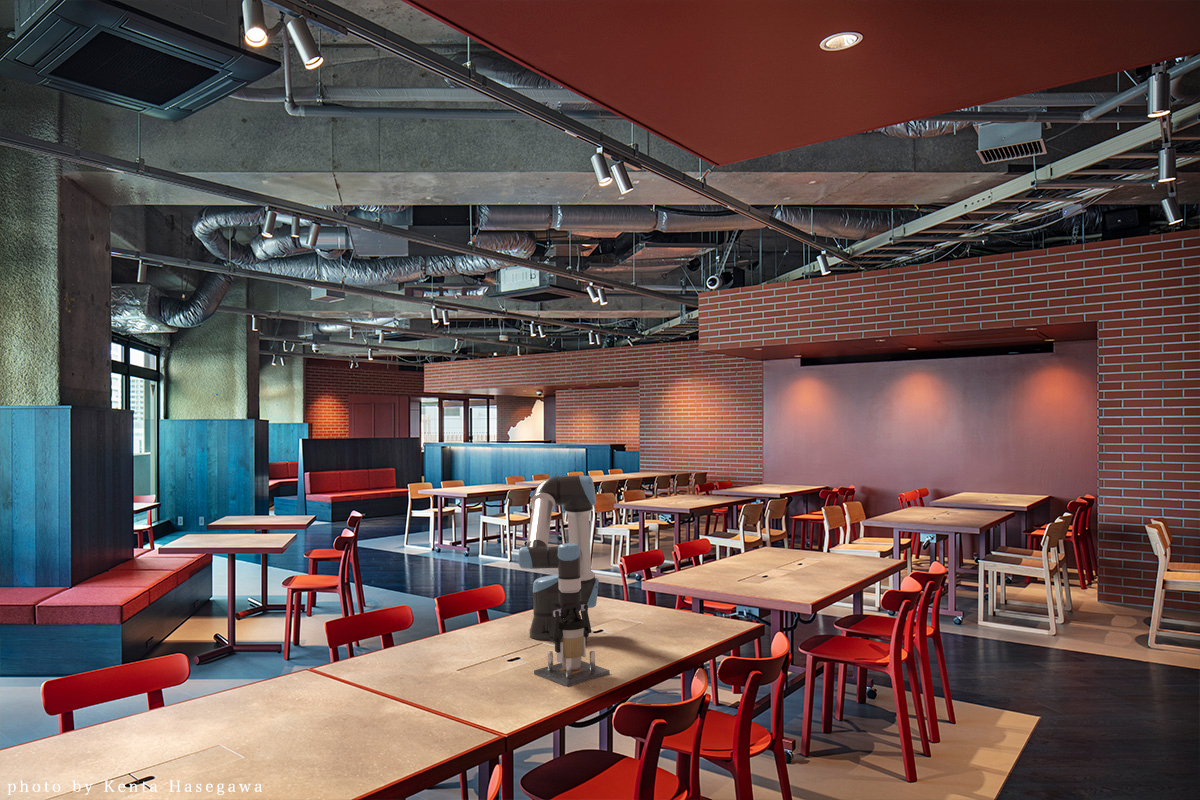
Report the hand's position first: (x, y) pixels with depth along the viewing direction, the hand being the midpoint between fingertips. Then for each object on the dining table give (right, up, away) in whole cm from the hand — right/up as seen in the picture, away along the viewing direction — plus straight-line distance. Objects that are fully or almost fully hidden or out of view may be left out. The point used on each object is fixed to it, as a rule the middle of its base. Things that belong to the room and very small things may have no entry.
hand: (571, 658), depth 243 cm
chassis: (0, -5, 0) cm, 5 cm away
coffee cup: (0, -3, 0) cm, 3 cm away
